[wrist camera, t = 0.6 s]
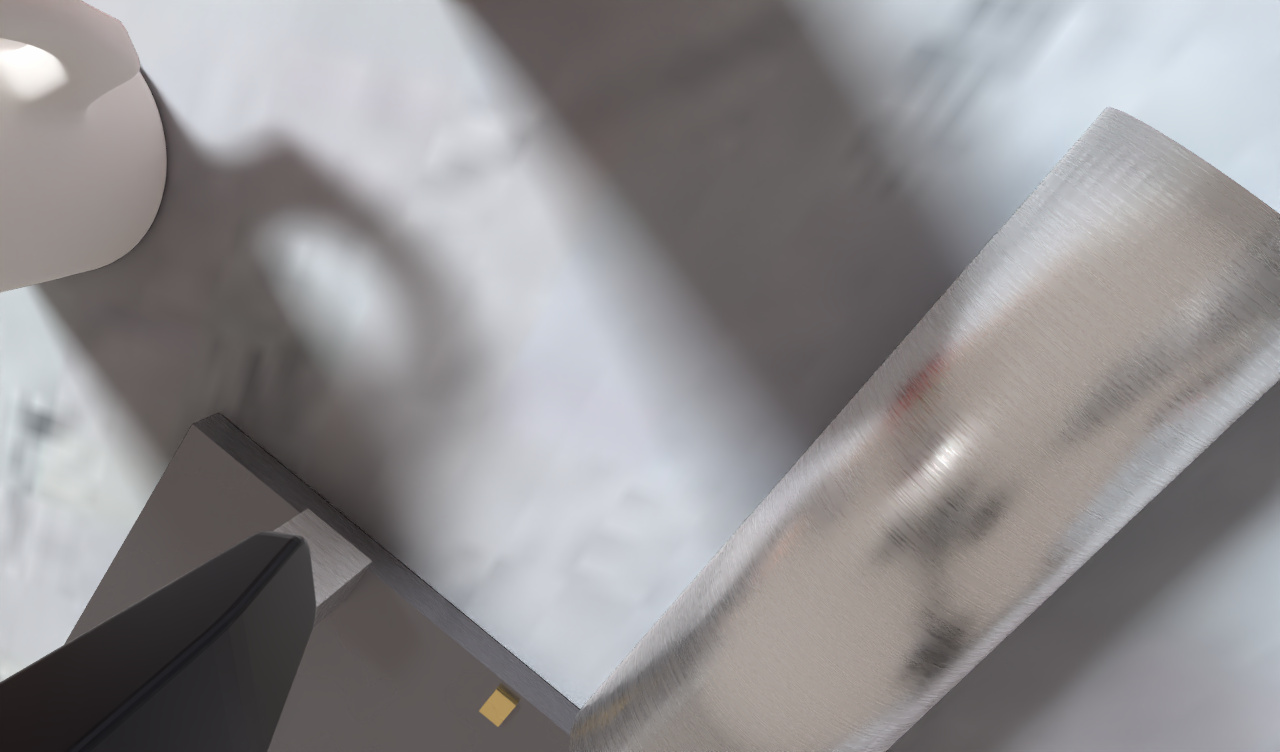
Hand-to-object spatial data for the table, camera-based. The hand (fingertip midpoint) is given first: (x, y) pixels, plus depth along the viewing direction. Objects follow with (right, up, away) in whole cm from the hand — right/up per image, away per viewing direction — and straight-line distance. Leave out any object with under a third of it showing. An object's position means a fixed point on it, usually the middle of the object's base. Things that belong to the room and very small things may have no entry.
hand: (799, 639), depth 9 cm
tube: (+4, 0, +13) cm, 14 cm away
